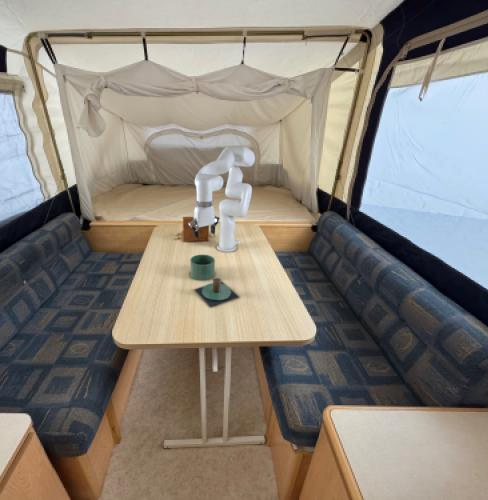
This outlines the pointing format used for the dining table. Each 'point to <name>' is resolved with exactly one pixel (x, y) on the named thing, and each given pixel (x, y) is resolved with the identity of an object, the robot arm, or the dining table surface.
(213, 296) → the lid
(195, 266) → the canister
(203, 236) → the game set
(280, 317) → the dining table surface
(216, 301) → the mat
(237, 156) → the robot arm
